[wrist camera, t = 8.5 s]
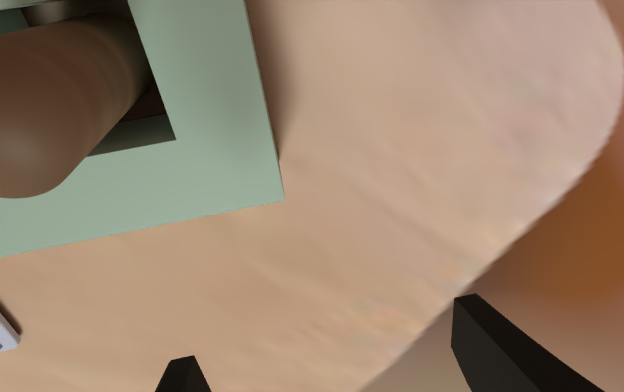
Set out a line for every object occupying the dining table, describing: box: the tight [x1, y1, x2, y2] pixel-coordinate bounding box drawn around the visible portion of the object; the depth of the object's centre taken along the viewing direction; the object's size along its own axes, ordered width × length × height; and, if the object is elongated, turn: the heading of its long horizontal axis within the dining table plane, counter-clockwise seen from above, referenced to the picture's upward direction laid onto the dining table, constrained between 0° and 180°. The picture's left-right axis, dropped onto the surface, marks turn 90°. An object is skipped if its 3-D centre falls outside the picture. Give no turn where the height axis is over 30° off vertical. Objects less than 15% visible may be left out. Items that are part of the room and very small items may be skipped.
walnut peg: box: [0, 13, 154, 199], centre depth 11 cm, size 3×3×8 cm
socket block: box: [0, 0, 285, 257], centre depth 13 cm, size 11×11×4 cm
